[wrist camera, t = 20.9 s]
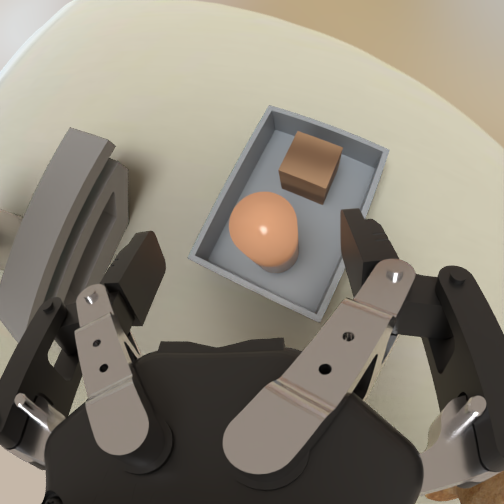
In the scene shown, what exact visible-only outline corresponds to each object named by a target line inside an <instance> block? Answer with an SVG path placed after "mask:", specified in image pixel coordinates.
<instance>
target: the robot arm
mask: <svg viewBox="0 0 504 504" xmlns="http://www.w3.org/2000/svg"><path fill="white" fill-rule="evenodd" d="M22 219H23V217H20V216H18V215H16V214H12V213H9V212H7V211H4V210H2V209H0V270H5V266H6V263H7V260H8V257H9V254H10V251H11V248H12V245H13V243H14V240H15V237H16V235H17V232H18V229H19V227H20V224H21V222H22ZM340 243H341V253H342V258H343V261H344V265H345V268H346V271H347V275H348V278H349V282H350V286H351V289H352V293H353V296H354V299H353V300H352V299H349V298H345V299H344V300H343V301H342V302H341V303H340V305H339V306H338V307H337V309H336V310H335V311H334V313H333V314H332V315H331V316H330V318H329V319H328V320H327V322H326V323H325V324H324V325H323V327H322V328H321V329H320V331H319V332H318V333H317V334H316V336H315V337H314V338H313V339H312V341H311V342H310V343H309V344H308V345H307V347H306V348H305V349H304V350H303V351H299V350H296V349H292V348H287V347H285V344H284V338H272V339H256V340H248V341H244V342H240V343H236V344H232V345H228V346H224V347H217V348H216V347H211V346H206V345H201V344H197V343H192V342H164V341H161V343H160V346H159V349H158V351H155V352H151V353H149V354H146V355H144V356H142V354H141V352H140V350H139V347H138V345H137V343H136V340H135V338H134V336H133V334H132V332H131V331H130V328H131V326H143V324H144V321H145V319H146V316H147V314H148V312H149V309H150V307H151V304H152V302H153V299H154V297H155V295H156V292H157V290H158V288H159V285H160V283H161V281H162V278H163V276H164V274H165V270H166V264H165V259H164V256H163V254H162V251H161V249H160V246H159V243H158V241H157V238H156V235H155V233H154V232H153V231H146V232H139V233H136V234H135V235H134V237H133V238H132V240H131V241H130V243H129V244H128V245H127V246H126V247H125V248H123V249H122V250H121V251H120V252H119V254H118V255H117V257H116V258H115V261H113V263H112V264H111V267H109V269H108V270H107V272H106V274H105V275H104V277H103V278H102V280H101V282H100V283H99V284H94V285H91V286H89V287H87V288H86V289H84V290H83V291H82V292H81V293H80V294H79V295H78V297H77V300H76V302H75V303H72V304H69V305H65V304H64V303H63V301H62V300H61V298H59V297H52V298H50V299H48V300H46V301H45V302H44V303H43V304H42V305H41V306H40V307H39V309H38V310H37V312H36V314H35V315H34V317H33V319H32V320H31V322H30V324H29V325H28V327H27V329H26V331H25V332H24V334H23V336H22V338H21V340H20V341H19V343H18V345H17V347H16V349H15V351H14V353H13V355H12V357H11V359H10V360H9V362H8V364H7V367H6V369H5V371H4V373H3V375H2V377H1V379H0V445H2V447H3V448H5V449H6V450H7V451H9V452H11V453H12V454H14V455H15V456H17V457H19V458H20V459H22V460H23V461H25V462H28V463H30V464H32V465H34V466H36V467H37V468H39V469H41V470H46V492H45V497H44V500H43V502H42V504H415V503H416V501H417V499H418V496H421V495H425V494H429V493H433V492H437V491H440V490H444V489H447V488H450V487H454V486H457V487H459V488H463V489H464V488H471V487H473V486H475V485H477V484H480V483H482V482H484V481H486V480H487V479H489V478H491V477H493V476H495V475H497V474H499V473H501V472H502V471H504V334H503V332H502V330H501V328H500V326H499V324H498V322H497V320H496V317H495V315H494V314H493V312H492V310H491V308H490V306H489V304H488V302H487V300H486V298H485V296H484V295H483V293H482V291H481V289H480V287H479V286H478V284H477V282H476V280H475V279H474V277H473V276H472V274H471V273H470V272H469V271H467V270H466V269H464V268H462V267H459V266H446V267H444V268H442V269H441V270H440V271H439V274H438V277H431V276H423V275H418V274H415V270H414V268H413V267H412V266H411V265H410V264H409V263H407V262H405V261H403V260H400V259H399V257H398V256H397V254H396V252H395V250H394V248H393V246H392V244H391V242H390V241H389V240H388V237H387V235H386V234H385V232H384V230H383V228H382V226H381V225H380V224H379V223H377V222H376V221H375V220H373V219H364V217H363V215H362V213H361V211H360V209H359V208H353V209H341V212H340ZM400 334H401V335H409V336H417V337H421V338H422V341H423V344H424V348H425V351H426V355H427V358H428V362H429V366H430V370H431V374H432V378H433V382H434V386H435V390H436V394H437V399H438V404H439V408H440V414H439V415H438V416H437V418H436V419H435V420H434V421H433V423H432V424H431V426H430V428H429V432H428V445H427V448H426V450H425V452H423V453H419V452H418V451H417V449H416V448H415V446H414V445H413V444H412V443H411V442H410V441H409V440H408V439H407V438H406V437H404V436H403V435H402V434H401V433H400V432H399V431H397V430H396V429H395V428H394V427H393V426H392V425H390V424H389V423H388V422H387V421H386V420H385V419H384V418H382V417H381V416H380V415H379V414H378V413H377V412H375V411H374V410H373V409H372V408H371V407H370V406H369V405H368V404H366V403H365V400H366V398H367V397H368V395H369V393H370V392H371V390H372V388H373V386H374V384H375V382H376V380H377V377H378V375H379V373H380V371H381V369H382V367H383V366H384V364H385V362H386V360H387V358H388V357H389V355H390V353H391V351H392V349H393V347H394V345H395V343H396V341H397V339H398V337H399V335H400ZM54 340H55V341H56V342H57V343H58V345H59V346H60V347H61V348H62V350H61V352H60V354H59V356H58V359H57V361H56V363H55V365H54V368H53V366H52V365H51V364H50V363H49V361H48V351H49V349H50V347H51V345H52V343H53V341H54ZM82 375H83V379H84V383H85V388H86V392H87V396H88V399H87V400H86V402H85V403H83V404H82V405H81V406H80V407H79V408H77V409H76V410H75V411H74V412H73V413H71V414H70V415H69V412H70V409H71V406H72V403H73V400H74V397H75V394H76V391H77V388H78V386H79V383H80V380H81V377H82ZM68 415H69V416H68Z"/></svg>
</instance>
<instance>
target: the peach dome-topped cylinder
mask: <svg viewBox="0 0 504 504" xmlns="http://www.w3.org/2000/svg"><path fill="white" fill-rule="evenodd" d="M229 232H230V236H231V238H232V241H233V242H234V244H235V245H236V247H237V248H238V249H239V250H240V251H242V252H243V253H244V254H245V255H246V256H247V257H249V258H250V259H251V260H252V261H253V262H254V263H256V264H257V265H258V266H259V267H260V268H261V269H263V270H265V271H267V272H269V273H282V272H285V271H287V270H288V269H290V268H291V267H292V266H293V265H294V264H295V262H296V261H297V258H298V255H299V240H298V225H297V217H296V213H295V211H294V209H293V207H292V206H291V204H290V203H289V202H288V201H287V200H286V199H285V198H283V197H282V196H280V195H278V194H275V193H272V192H256V193H253V194H250V195H248V196H246V197H245V198H243V199H242V200H241V201H240V202H239V203H238V204H237V205H236V206H235V208H234V209H233V211H232V213H231V216H230V220H229Z"/></svg>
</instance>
